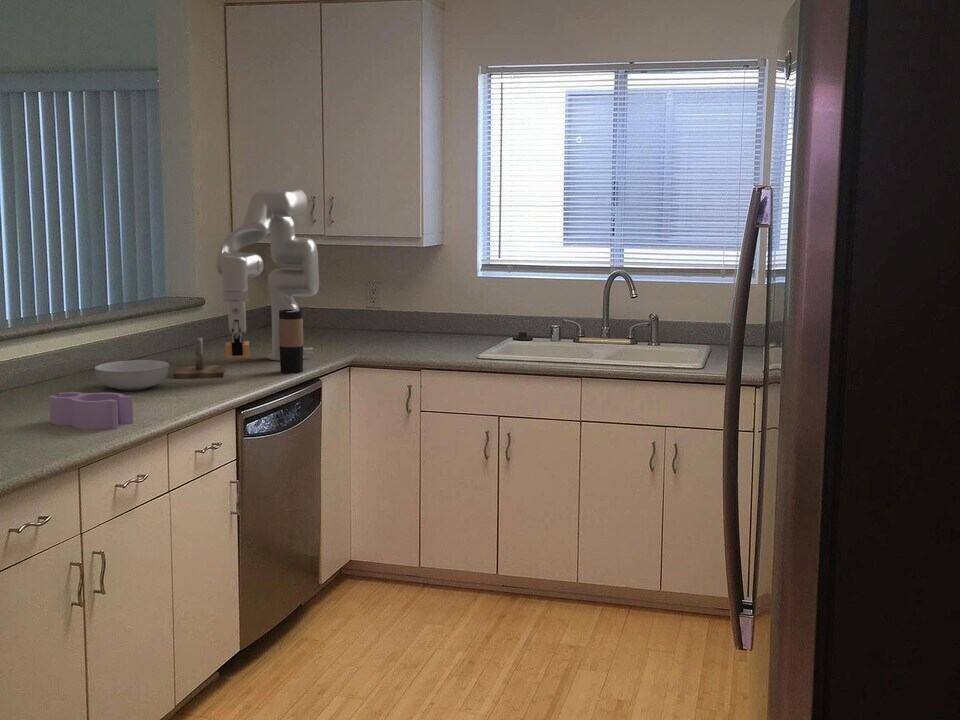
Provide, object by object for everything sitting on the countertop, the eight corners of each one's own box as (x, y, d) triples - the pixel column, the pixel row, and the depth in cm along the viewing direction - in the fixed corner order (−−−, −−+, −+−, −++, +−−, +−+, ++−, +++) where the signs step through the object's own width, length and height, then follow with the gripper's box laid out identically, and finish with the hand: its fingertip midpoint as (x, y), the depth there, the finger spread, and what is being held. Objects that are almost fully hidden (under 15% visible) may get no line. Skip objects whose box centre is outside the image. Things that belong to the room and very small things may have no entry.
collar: (249, 353, 330) (249, 341, 329) (249, 357, 323) (248, 344, 322) (226, 354, 328) (226, 341, 328) (225, 358, 322) (225, 345, 321)
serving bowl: (111, 381, 322) (110, 359, 321) (179, 382, 321) (178, 360, 320) (83, 393, 301) (82, 370, 300) (156, 395, 301) (155, 371, 300)
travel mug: (283, 374, 337) (282, 312, 334) (276, 370, 344) (275, 310, 341) (306, 372, 340) (305, 311, 337) (299, 369, 347) (298, 309, 344)
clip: (39, 426, 259) (38, 398, 258) (71, 416, 271) (70, 390, 270) (110, 431, 254) (109, 403, 253) (139, 421, 266) (138, 394, 265)
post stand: (224, 369, 345) (223, 334, 343) (223, 377, 330) (222, 341, 329) (177, 370, 342) (175, 335, 340) (173, 378, 327) (172, 341, 326)
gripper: (247, 299, 315) (250, 357, 318) (248, 292, 331) (250, 348, 335) (222, 299, 313) (224, 358, 316) (223, 292, 330) (226, 348, 333)
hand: (237, 352), depth 325 cm, fingers closed on collar, 7 cm apart
